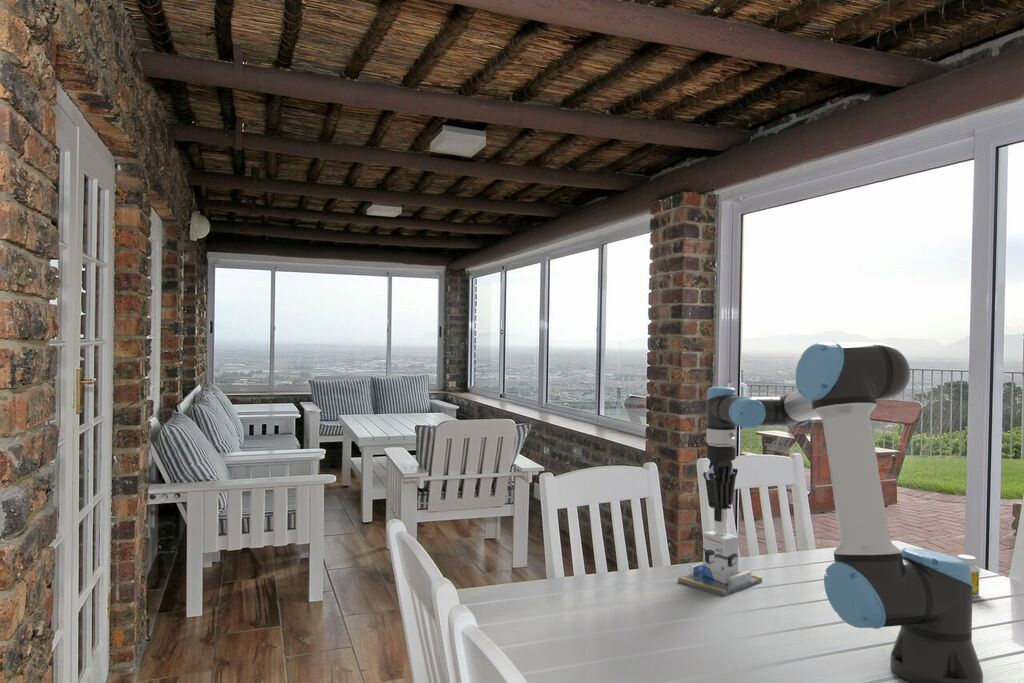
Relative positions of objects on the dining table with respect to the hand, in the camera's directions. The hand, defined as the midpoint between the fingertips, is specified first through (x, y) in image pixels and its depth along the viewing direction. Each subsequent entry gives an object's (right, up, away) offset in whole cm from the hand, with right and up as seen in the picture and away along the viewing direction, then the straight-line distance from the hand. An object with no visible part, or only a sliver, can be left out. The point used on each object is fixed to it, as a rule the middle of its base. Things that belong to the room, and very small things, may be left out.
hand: (720, 532), depth 187 cm
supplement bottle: (+61, -14, -8) cm, 63 cm away
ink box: (0, -12, 0) cm, 12 cm away
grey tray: (0, -13, 0) cm, 13 cm away
